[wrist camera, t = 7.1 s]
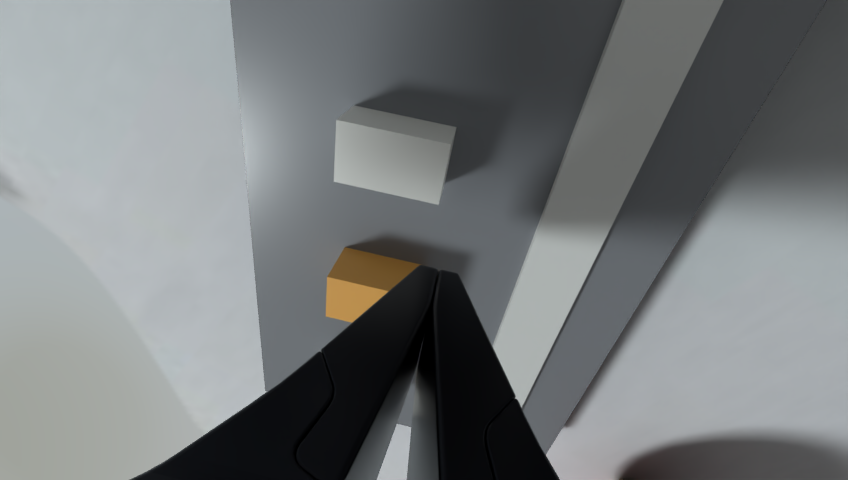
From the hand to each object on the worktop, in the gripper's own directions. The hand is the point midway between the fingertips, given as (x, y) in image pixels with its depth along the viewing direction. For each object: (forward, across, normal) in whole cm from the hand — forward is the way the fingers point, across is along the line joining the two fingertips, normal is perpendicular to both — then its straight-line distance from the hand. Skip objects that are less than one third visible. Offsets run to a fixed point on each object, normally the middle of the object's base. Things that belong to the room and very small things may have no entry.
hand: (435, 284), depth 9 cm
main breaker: (+2, +2, +2) cm, 3 cm away
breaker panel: (+4, 0, 0) cm, 4 cm away
